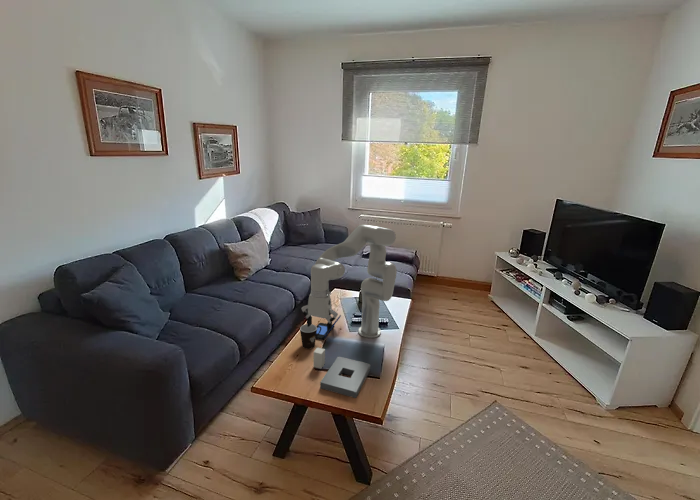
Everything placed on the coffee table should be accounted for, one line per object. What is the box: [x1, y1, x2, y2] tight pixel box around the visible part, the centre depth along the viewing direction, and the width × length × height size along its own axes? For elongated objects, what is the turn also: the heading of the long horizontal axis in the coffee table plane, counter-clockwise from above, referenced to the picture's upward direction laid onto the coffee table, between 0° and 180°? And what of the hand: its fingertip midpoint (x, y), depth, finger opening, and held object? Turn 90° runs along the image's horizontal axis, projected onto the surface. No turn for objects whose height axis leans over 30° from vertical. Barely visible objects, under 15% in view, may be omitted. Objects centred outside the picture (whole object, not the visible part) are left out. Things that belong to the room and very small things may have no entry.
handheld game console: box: [315, 314, 342, 341], centre depth 183 cm, size 16×13×9 cm
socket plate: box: [319, 356, 371, 399], centre depth 147 cm, size 20×16×3 cm
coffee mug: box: [299, 323, 321, 350], centre depth 170 cm, size 12×9×10 cm
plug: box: [313, 346, 326, 370], centre depth 154 cm, size 4×4×8 cm
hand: (319, 327), depth 150 cm, fingers open, 9 cm apart
